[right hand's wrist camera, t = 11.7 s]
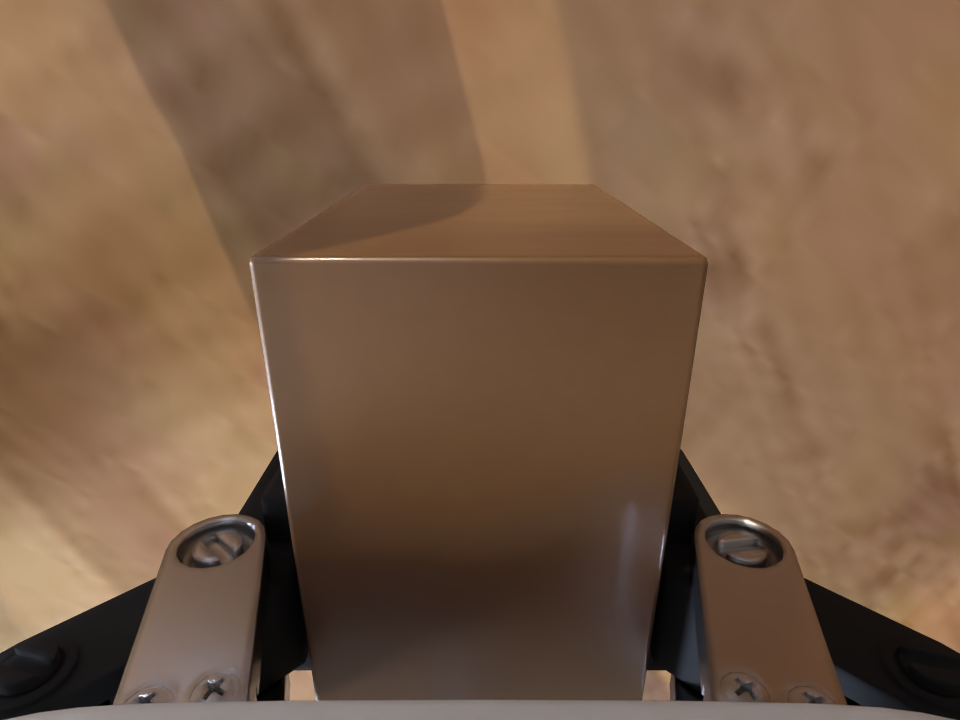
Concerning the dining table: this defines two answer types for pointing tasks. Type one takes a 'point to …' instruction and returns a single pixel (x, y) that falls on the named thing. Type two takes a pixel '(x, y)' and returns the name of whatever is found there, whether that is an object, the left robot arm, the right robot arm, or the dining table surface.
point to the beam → (478, 435)
